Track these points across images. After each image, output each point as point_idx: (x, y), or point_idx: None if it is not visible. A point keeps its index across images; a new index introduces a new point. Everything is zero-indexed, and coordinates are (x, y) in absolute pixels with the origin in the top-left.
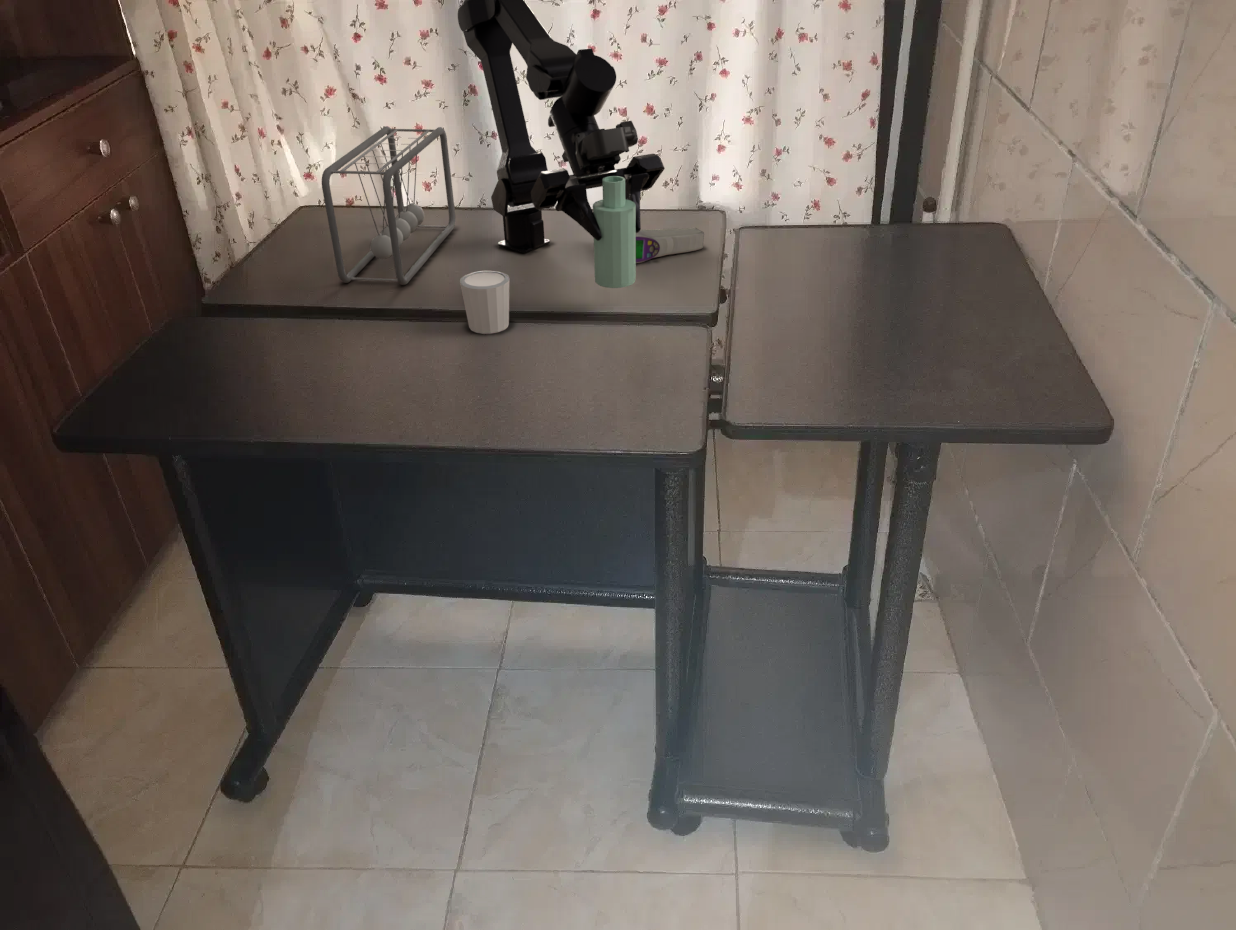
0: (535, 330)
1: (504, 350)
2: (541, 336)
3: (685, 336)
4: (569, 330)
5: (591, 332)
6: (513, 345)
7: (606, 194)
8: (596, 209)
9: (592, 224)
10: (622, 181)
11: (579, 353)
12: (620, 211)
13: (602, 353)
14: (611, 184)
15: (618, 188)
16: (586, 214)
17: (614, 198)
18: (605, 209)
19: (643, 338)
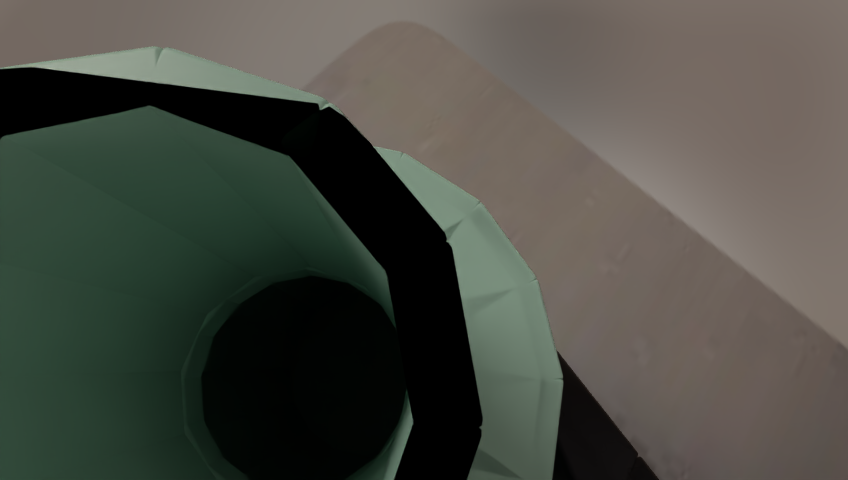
0: (675, 419)
1: (818, 360)
2: (680, 367)
3: (356, 97)
4: (587, 343)
5: (542, 286)
6: (781, 371)
7: (446, 354)
8: (558, 403)
9: (578, 380)
10: (61, 71)
11: (645, 202)
12: (401, 155)
13: (594, 163)
14: (404, 190)
15: (278, 145)
16: (642, 464)
17: (375, 239)
18: (494, 304)
19: (450, 159)
